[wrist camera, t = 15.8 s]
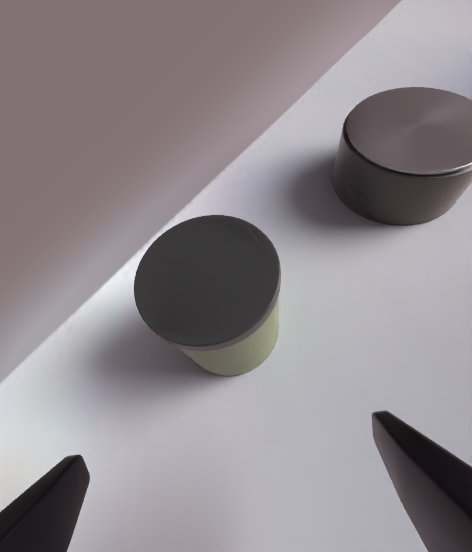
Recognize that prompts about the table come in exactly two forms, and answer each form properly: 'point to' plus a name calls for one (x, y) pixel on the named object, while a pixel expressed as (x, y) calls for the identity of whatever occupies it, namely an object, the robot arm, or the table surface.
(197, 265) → the green lidded jar
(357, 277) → the table surface
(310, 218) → the table surface
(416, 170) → the round container
